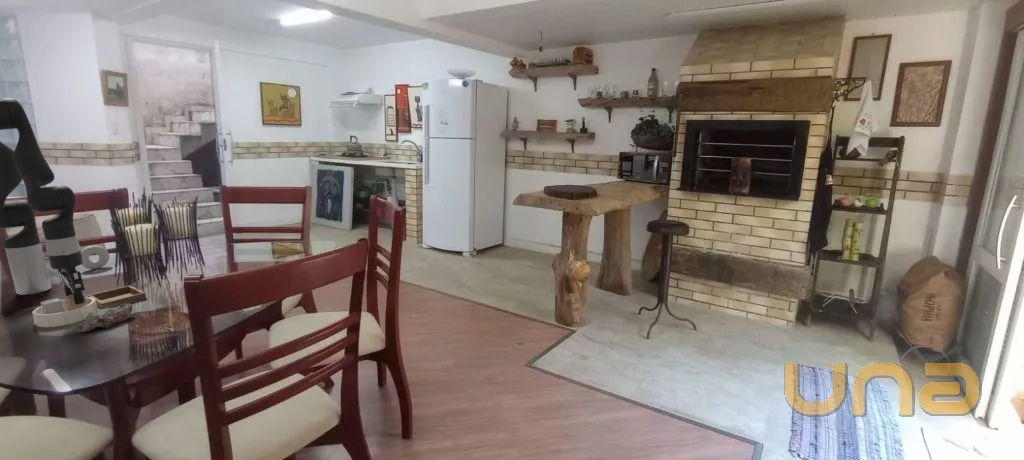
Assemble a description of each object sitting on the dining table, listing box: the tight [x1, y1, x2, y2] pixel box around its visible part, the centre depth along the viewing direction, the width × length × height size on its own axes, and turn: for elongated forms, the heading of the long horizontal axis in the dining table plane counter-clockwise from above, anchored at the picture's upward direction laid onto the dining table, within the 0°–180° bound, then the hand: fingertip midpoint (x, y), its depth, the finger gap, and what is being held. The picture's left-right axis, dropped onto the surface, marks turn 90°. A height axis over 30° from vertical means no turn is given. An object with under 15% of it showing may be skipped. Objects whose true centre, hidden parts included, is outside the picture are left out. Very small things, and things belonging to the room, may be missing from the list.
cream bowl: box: [31, 296, 99, 328], centre depth 154 cm, size 14×14×4 cm
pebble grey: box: [40, 297, 64, 314], centre depth 151 cm, size 4×4×6 cm
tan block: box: [64, 293, 87, 311], centre depth 156 cm, size 4×4×6 cm
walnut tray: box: [87, 285, 147, 310], centre depth 168 cm, size 14×12×2 cm
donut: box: [80, 245, 110, 270], centre depth 204 cm, size 10×4×10 cm, turn 140°
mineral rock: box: [76, 303, 133, 333], centre depth 149 cm, size 15×8×4 cm, turn 145°
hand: (75, 300), depth 156 cm, fingers open, 8 cm apart
